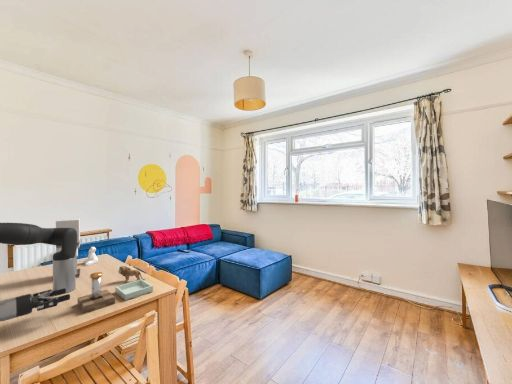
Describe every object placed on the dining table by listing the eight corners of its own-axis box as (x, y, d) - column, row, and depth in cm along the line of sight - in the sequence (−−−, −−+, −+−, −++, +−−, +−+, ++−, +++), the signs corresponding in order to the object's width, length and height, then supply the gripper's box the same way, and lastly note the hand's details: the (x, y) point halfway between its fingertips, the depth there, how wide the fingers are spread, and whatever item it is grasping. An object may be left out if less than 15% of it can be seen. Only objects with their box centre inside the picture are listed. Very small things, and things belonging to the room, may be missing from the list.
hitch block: (77, 304, 110) (77, 297, 110) (106, 295, 119) (106, 289, 119) (84, 313, 102) (84, 306, 102) (115, 303, 111) (115, 297, 111)
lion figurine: (116, 283, 135) (116, 267, 134) (121, 279, 140) (121, 264, 140) (143, 282, 136) (143, 267, 136) (146, 279, 141) (146, 264, 141)
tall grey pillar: (79, 277, 143) (78, 219, 142) (56, 281, 137) (55, 221, 136) (80, 271, 152) (79, 217, 151) (58, 275, 146) (58, 218, 145)
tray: (115, 292, 123) (115, 286, 123) (142, 284, 133) (142, 279, 133) (125, 300, 114) (125, 294, 114) (153, 291, 124) (153, 285, 124)
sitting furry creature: (81, 263, 169) (81, 246, 168) (95, 260, 175) (95, 244, 175) (85, 266, 163) (85, 248, 162) (100, 263, 169) (100, 246, 169)
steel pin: (89, 304, 110) (89, 274, 110) (100, 300, 114) (100, 271, 114) (92, 307, 107) (91, 276, 107) (103, 303, 111) (103, 273, 111)
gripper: (15, 304, 86) (71, 289, 98) (13, 292, 95) (64, 280, 107) (15, 324, 86) (71, 307, 98) (13, 310, 95) (64, 296, 107)
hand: (67, 293), depth 103 cm, fingers open, 8 cm apart
